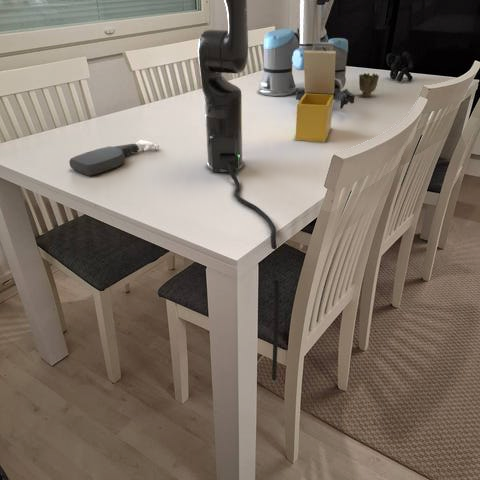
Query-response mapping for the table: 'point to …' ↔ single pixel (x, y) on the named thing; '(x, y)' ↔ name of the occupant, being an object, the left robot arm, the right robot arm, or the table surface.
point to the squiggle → (399, 66)
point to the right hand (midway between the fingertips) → (320, 103)
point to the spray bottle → (106, 157)
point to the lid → (320, 69)
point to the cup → (367, 83)
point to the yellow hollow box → (314, 117)
